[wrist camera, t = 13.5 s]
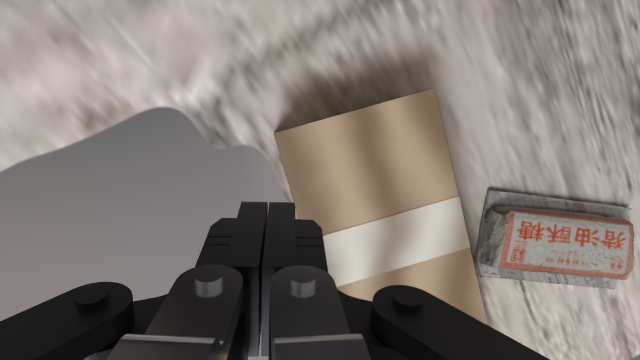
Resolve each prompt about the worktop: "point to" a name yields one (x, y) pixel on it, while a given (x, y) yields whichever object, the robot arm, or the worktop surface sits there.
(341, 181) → the carton lid
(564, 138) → the worktop surface
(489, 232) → the packaged product
